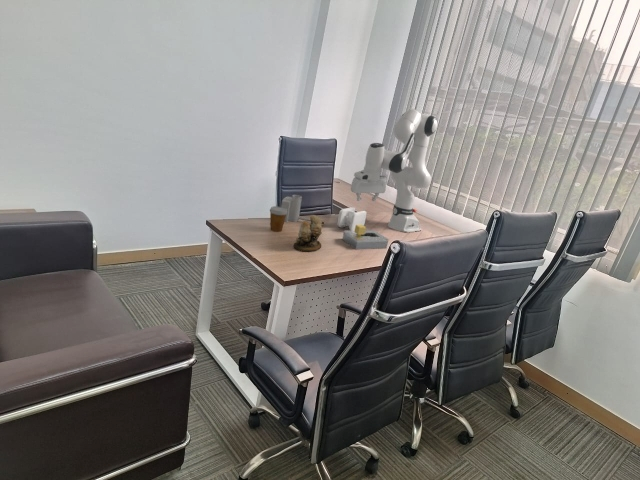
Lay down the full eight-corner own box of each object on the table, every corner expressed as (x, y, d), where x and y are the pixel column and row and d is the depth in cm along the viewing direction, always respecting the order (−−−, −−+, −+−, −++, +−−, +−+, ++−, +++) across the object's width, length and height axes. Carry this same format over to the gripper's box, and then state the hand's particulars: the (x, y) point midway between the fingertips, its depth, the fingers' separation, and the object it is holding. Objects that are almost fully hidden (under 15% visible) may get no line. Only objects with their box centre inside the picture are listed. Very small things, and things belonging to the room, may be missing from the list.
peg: (358, 242, 222) (362, 224, 218) (362, 245, 218) (366, 227, 215) (351, 242, 220) (355, 224, 216) (355, 245, 216) (359, 227, 213)
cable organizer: (350, 233, 235) (354, 214, 231) (335, 227, 240) (339, 209, 236) (363, 229, 246) (367, 211, 242) (349, 223, 252) (353, 206, 248)
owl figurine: (308, 239, 214) (313, 208, 208) (326, 246, 209) (332, 215, 203) (287, 246, 199) (293, 214, 194) (307, 254, 194) (313, 221, 188)
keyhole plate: (372, 238, 232) (374, 230, 230) (386, 248, 220) (388, 239, 219) (342, 239, 222) (344, 230, 221) (355, 249, 211) (357, 240, 209)
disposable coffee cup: (288, 230, 222) (290, 209, 218) (279, 234, 214) (282, 212, 210) (273, 225, 226) (275, 205, 221) (264, 229, 217) (266, 208, 213)
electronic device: (283, 215, 246) (286, 191, 241) (324, 223, 244) (328, 199, 239) (278, 220, 235) (281, 195, 230) (321, 229, 232) (325, 204, 227)
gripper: (383, 174, 216) (378, 199, 221) (351, 173, 207) (347, 198, 212) (390, 177, 211) (385, 202, 216) (358, 176, 202) (353, 202, 207)
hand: (366, 200), depth 214 cm, fingers open, 8 cm apart
